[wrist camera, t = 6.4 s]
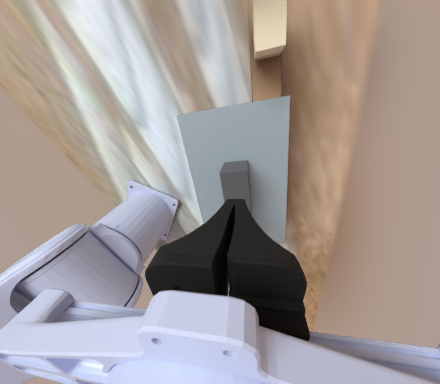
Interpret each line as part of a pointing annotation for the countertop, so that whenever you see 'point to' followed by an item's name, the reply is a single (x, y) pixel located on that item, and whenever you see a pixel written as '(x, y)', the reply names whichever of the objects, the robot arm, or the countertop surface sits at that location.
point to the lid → (241, 159)
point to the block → (269, 27)
